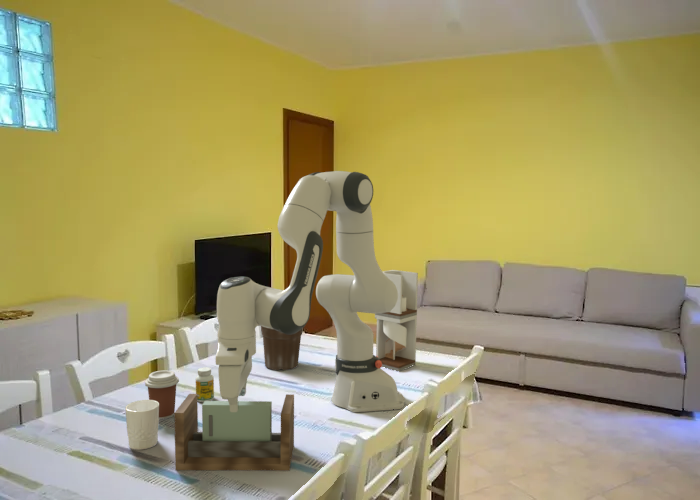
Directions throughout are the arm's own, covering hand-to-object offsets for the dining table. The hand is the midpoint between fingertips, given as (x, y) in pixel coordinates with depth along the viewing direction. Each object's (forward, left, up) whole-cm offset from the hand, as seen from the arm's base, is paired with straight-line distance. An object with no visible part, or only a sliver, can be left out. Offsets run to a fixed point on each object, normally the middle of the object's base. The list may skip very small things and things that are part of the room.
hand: (238, 402), depth 129 cm
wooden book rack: (0, +1, -14) cm, 13 cm away
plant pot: (-3, -70, -14) cm, 72 cm away
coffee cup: (+26, -24, -14) cm, 38 cm away
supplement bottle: (+17, -36, -14) cm, 43 cm away
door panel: (0, 0, -12) cm, 12 cm away
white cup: (+25, -6, -14) cm, 29 cm away
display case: (-45, -72, -14) cm, 86 cm away
